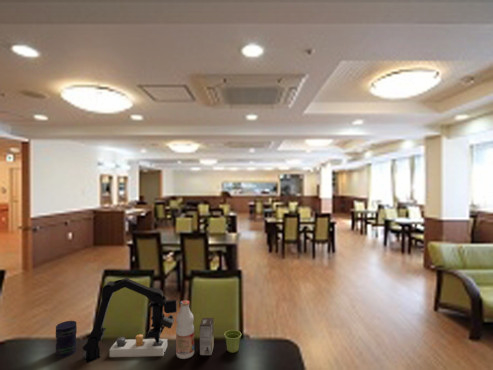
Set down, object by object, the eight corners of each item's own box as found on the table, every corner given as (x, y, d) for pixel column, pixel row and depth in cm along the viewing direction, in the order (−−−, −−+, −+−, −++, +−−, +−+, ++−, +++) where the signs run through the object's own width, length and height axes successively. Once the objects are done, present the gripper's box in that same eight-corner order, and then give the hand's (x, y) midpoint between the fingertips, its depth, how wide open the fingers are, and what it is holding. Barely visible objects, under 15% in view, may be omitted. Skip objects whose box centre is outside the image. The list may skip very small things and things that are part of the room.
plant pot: (242, 345, 168) (242, 330, 168) (240, 355, 159) (240, 338, 159) (225, 344, 169) (225, 329, 169) (222, 354, 160) (222, 338, 160)
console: (109, 357, 158) (109, 349, 158) (117, 346, 168) (117, 339, 168) (163, 355, 158) (163, 348, 158) (167, 345, 168) (167, 338, 168)
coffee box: (202, 346, 168) (202, 317, 168) (213, 346, 168) (213, 317, 168) (199, 355, 159) (199, 325, 159) (211, 355, 159) (211, 325, 159)
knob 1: (115, 347, 160) (115, 341, 160) (118, 343, 165) (118, 337, 165) (123, 347, 161) (123, 341, 161) (126, 343, 165) (126, 337, 165)
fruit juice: (173, 352, 161) (173, 301, 161) (190, 347, 166) (189, 297, 166) (180, 361, 153) (179, 306, 153) (197, 355, 159) (196, 302, 159)
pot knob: (134, 347, 161) (134, 337, 161) (137, 343, 165) (137, 334, 165) (141, 346, 161) (141, 337, 161) (144, 343, 165) (144, 333, 165)
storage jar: (60, 359, 156) (59, 331, 156) (52, 353, 162) (52, 325, 162) (80, 351, 164) (80, 323, 164) (72, 345, 170) (72, 319, 170)
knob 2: (152, 350, 161) (152, 344, 161) (155, 346, 165) (154, 340, 165) (160, 350, 161) (160, 344, 161) (163, 346, 166) (162, 340, 166)
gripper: (168, 321, 154) (168, 351, 154) (176, 306, 173) (176, 333, 173) (146, 321, 154) (146, 352, 154) (156, 306, 172) (156, 333, 173)
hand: (157, 342), depth 163 cm, fingers closed, pressing on knob 2
